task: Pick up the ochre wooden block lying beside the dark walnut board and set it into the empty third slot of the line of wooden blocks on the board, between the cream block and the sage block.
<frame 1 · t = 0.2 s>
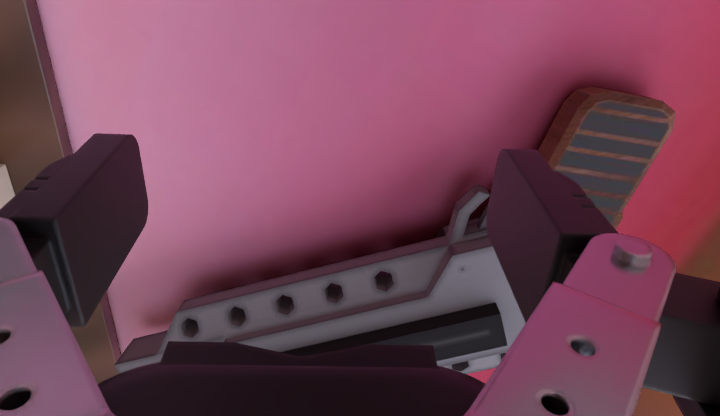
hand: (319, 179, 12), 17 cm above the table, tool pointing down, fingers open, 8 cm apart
futuristic gun: (376, 246, 34), on the table
walnut board: (2, 238, 33), on the table
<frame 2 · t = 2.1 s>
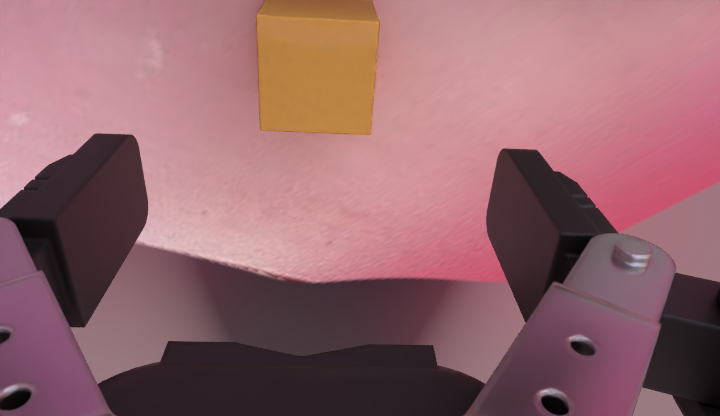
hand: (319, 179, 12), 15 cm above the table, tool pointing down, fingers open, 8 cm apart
ochre block: (319, 48, 25), on the table
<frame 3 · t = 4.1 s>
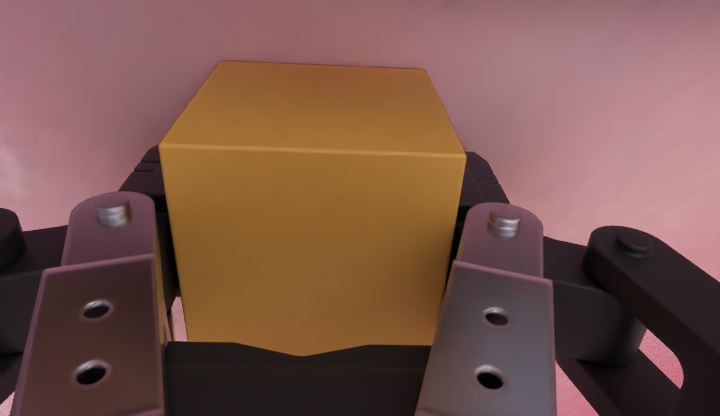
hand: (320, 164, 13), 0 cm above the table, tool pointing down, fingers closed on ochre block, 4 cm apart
ochre block: (322, 158, 13), on the table, touching gripper
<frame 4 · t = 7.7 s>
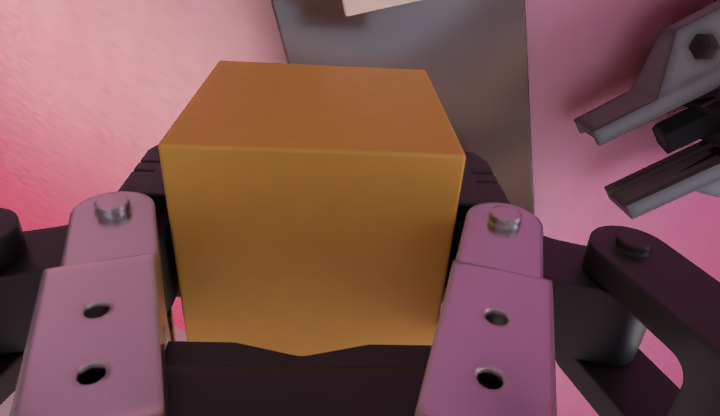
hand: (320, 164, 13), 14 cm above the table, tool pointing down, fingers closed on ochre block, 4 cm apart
walnut board: (398, 7, 25), on the table
ochre block: (321, 158, 13), point 14 cm above the table, touching gripper
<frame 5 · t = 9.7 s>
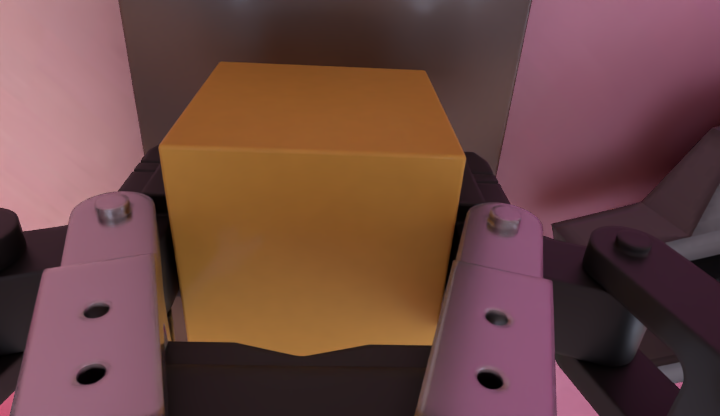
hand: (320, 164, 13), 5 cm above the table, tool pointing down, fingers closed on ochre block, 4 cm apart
ochre block: (321, 159, 13), point 4 cm above the table, touching gripper
when the fingers open (1 cm above the table, at t = 11.1 s): ochre block stays where it is, resting on walnut board.
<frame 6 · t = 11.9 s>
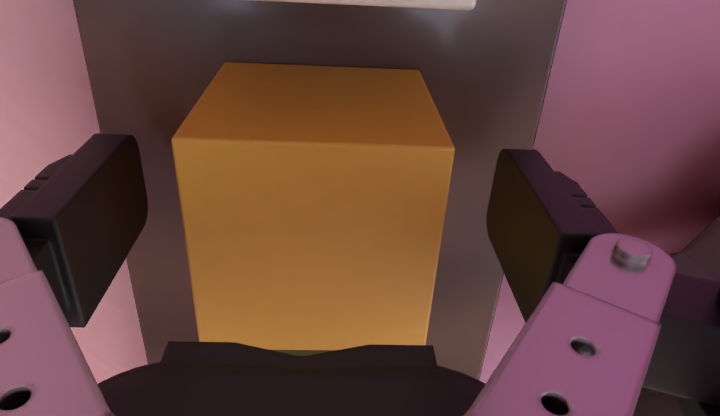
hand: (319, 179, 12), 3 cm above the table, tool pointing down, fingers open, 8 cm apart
walnut board: (324, 12, 13), on the table
ochre block: (321, 154, 14), point 1 cm above the table, touching walnut board
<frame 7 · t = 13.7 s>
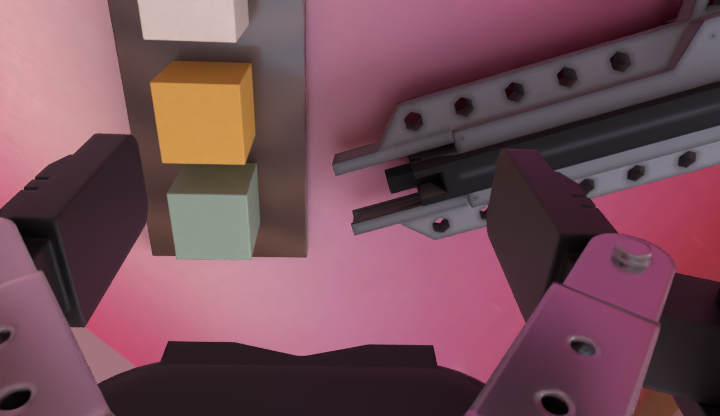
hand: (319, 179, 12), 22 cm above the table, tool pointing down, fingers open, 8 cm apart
futuristic gun: (586, 52, 34), on the table
walnut board: (213, 40, 32), on the table
sage block: (224, 192, 36), point 1 cm above the table, touching walnut board
ochre block: (215, 99, 33), point 1 cm above the table, touching walnut board
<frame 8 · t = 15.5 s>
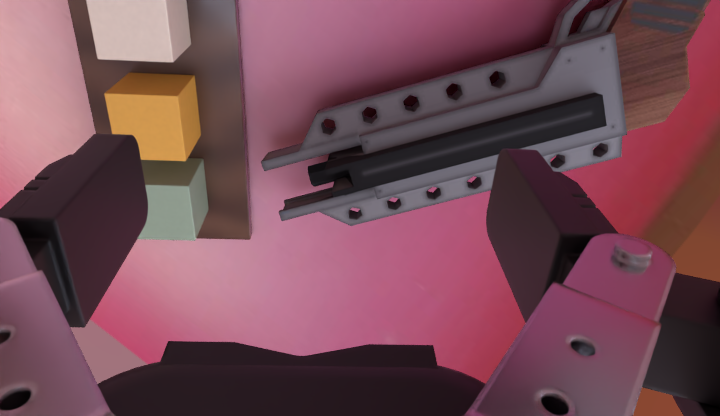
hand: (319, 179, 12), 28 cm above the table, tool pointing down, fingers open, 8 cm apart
futuristic gun: (480, 68, 40), on the table
walnut board: (163, 55, 38), on the table
sage block: (176, 183, 42), point 1 cm above the table, touching walnut board
ochre block: (166, 104, 39), point 1 cm above the table, touching walnut board
cream block: (152, 8, 36), point 1 cm above the table, touching walnut board
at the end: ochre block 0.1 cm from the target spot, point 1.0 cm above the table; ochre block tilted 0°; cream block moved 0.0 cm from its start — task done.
